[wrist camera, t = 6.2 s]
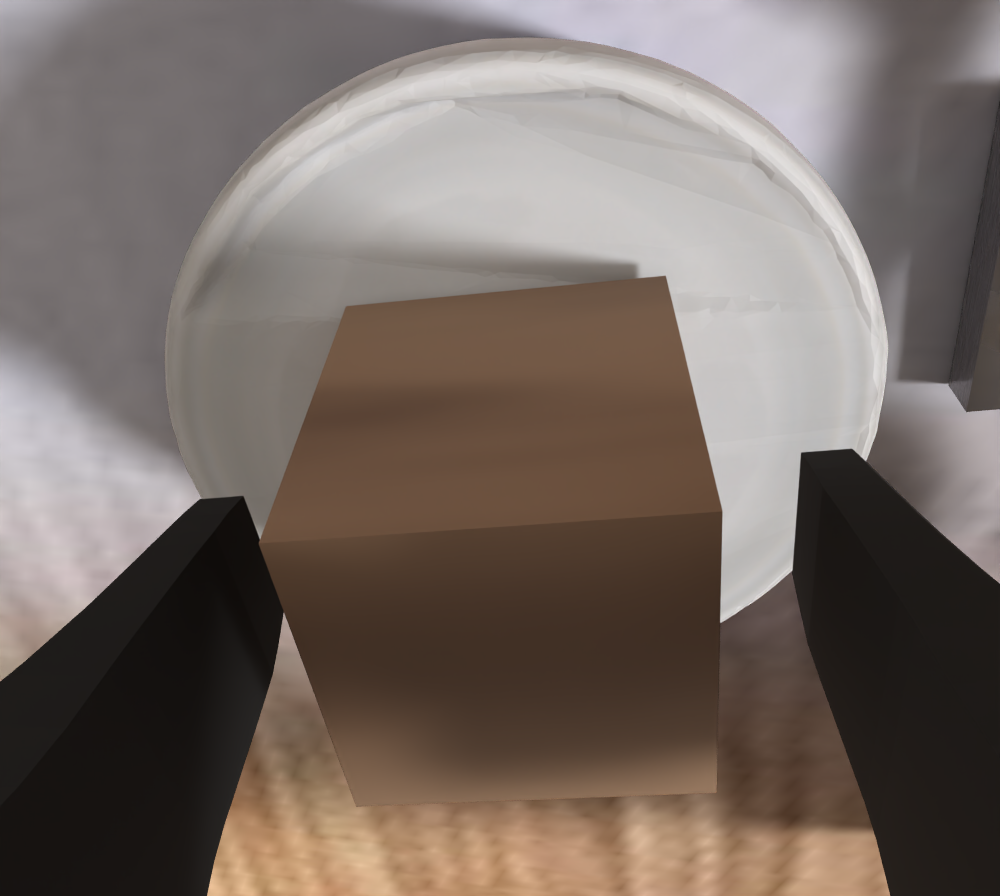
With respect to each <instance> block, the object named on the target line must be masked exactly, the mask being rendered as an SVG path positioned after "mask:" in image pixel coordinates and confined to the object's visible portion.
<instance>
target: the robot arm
mask: <svg viewBox="0 0 1000 896" xmlns="http://www.w3.org/2000/svg"><path fill="white" fill-rule="evenodd" d="M259 541H260V538H259V535H258V533H257V530H256V527H255V525H254V522H253V519H252V517H251V514H250V512H249V509H248V506H247V504H246V501H245V498H244V496H233V497H221V498H208V499H200V500H198V501H197V502H196V503H195V504H194V505H193V506H192V507H190V508H189V509H188V510H187V511H186V512H185V513H184V514H183V515H182V516H180V517H179V518H178V519H177V520H176V521H175V522H174V523H173V524H172V525H171V526H170V527H169V528H168V529H167V530H166V531H165V532H164V533H163V534H162V535H161V536H160V537H159V538H158V539H157V540H156V541H155V542H154V543H152V544H151V545H150V546H149V547H148V548H147V549H146V550H145V551H144V552H143V553H142V554H141V555H140V556H139V557H138V558H137V559H136V560H135V561H134V562H133V563H132V564H131V565H130V566H129V567H128V568H127V569H126V570H125V571H124V572H123V573H122V574H121V575H119V576H118V577H117V578H116V579H115V580H114V581H113V582H112V583H111V584H110V585H109V586H108V587H107V588H106V589H105V590H104V591H103V592H102V593H101V594H100V595H99V596H98V597H97V598H95V599H94V600H93V601H92V602H91V603H90V604H89V605H88V606H87V607H86V608H85V609H84V610H83V611H81V612H80V613H79V614H78V615H77V616H76V617H75V618H74V619H72V620H71V621H70V622H69V623H68V624H67V625H66V626H64V627H63V628H62V629H61V630H60V631H59V632H58V633H57V634H55V635H54V636H53V637H52V638H51V639H50V640H49V641H48V642H46V643H45V644H44V645H43V646H42V647H41V648H40V649H38V650H37V651H36V652H35V653H34V654H33V655H32V656H31V657H29V658H28V659H27V660H26V661H25V662H24V663H23V664H21V665H20V666H19V667H18V668H16V669H15V670H14V671H13V672H12V673H10V674H9V675H8V676H7V677H5V678H4V679H3V680H2V681H0V896H207V893H208V888H209V883H210V879H211V874H212V869H213V864H214V860H215V857H216V853H217V849H218V846H219V842H220V839H221V835H222V831H223V828H224V824H225V821H226V818H227V815H228V812H229V809H230V806H231V803H232V800H233V797H234V794H235V791H236V788H237V785H238V781H239V778H240V775H241V772H242V769H243V766H244V763H245V760H246V757H247V754H248V751H249V748H250V745H251V742H252V738H253V735H254V732H255V729H256V726H257V723H258V720H259V717H260V713H261V710H262V707H263V704H264V701H265V698H266V694H267V691H268V688H269V685H270V681H271V678H272V675H273V670H274V665H275V660H276V654H277V649H278V644H279V638H280V632H281V625H282V619H283V613H284V611H283V608H282V605H281V602H280V600H279V597H278V594H277V592H276V589H275V586H274V584H273V581H272V578H271V576H270V573H269V570H268V568H267V565H266V562H265V559H264V557H263V554H262V551H261V549H260V546H259ZM792 574H793V579H794V584H795V588H796V593H797V598H798V602H799V607H800V612H801V616H802V620H803V625H804V629H805V633H806V638H807V642H808V646H809V649H810V651H811V654H812V657H813V660H814V663H815V666H816V669H817V671H818V674H819V677H820V680H821V683H822V685H823V688H824V691H825V694H826V697H827V700H828V702H829V705H830V708H831V711H832V713H833V716H834V719H835V722H836V724H837V727H838V730H839V733H840V735H841V738H842V741H843V744H844V746H845V749H846V752H847V755H848V758H849V760H850V763H851V766H852V769H853V771H854V774H855V777H856V780H857V782H858V785H859V788H860V791H861V793H862V796H863V799H864V802H865V805H866V808H867V811H868V814H869V818H870V821H871V824H872V827H873V830H874V834H875V837H876V840H877V844H878V848H879V852H880V856H881V860H882V864H883V868H884V872H885V876H886V880H887V884H888V888H889V892H890V896H1000V584H999V583H998V582H997V581H996V580H995V579H993V578H992V577H991V576H990V575H989V574H987V573H986V572H985V571H984V570H983V569H981V568H980V567H979V566H978V565H977V564H975V563H974V562H973V561H972V560H971V559H970V558H969V557H968V556H966V555H965V554H964V553H963V552H962V551H961V550H960V549H958V548H957V547H956V546H955V545H954V544H953V543H952V542H951V541H949V540H948V539H947V538H946V537H945V536H944V535H943V534H941V533H940V532H939V531H938V530H937V529H936V528H935V527H934V526H933V525H932V524H931V523H929V522H928V521H927V520H926V519H925V518H924V517H923V516H922V515H921V514H920V513H919V512H918V511H917V510H916V509H915V508H913V507H912V506H911V505H910V504H909V503H908V502H907V501H906V500H905V499H904V498H903V497H902V496H901V495H900V494H899V493H898V492H897V491H896V490H895V489H894V488H893V487H892V486H891V485H890V484H889V483H888V482H887V481H886V480H884V479H883V478H882V477H881V476H880V475H879V474H878V473H877V472H876V471H875V470H874V469H873V468H872V467H871V466H870V465H869V464H868V463H867V462H866V461H865V460H864V459H863V458H862V457H861V456H860V455H859V454H858V453H856V452H855V451H854V450H853V449H839V450H826V451H813V452H801V459H800V473H799V487H798V501H797V514H796V528H795V542H794V556H793V569H792Z"/></svg>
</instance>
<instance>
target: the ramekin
mask: <svg viewBox="0 0 1000 896" xmlns="http://www.w3.org/2000/svg"><path fill="white" fill-rule="evenodd" d="M657 276H666V279H667V283H668V287H669V291H670V295H671V299H672V303H673V308H674V312H675V316H676V320H677V324H678V328H679V332H680V337H681V341H682V345H683V349H684V353H685V357H686V361H687V366H688V370H689V374H690V378H691V382H692V386H693V391H694V395H695V399H696V403H697V407H698V411H699V415H700V420H701V424H702V428H703V432H704V436H705V440H706V444H707V449H708V453H709V457H710V461H711V465H712V469H713V473H714V478H715V482H716V486H717V490H718V494H719V498H720V503H721V507H722V511H723V518H722V563H721V608H720V623H721V622H723V621H725V620H727V619H728V618H729V617H731V616H733V615H735V614H736V613H738V612H739V611H740V610H742V609H743V608H744V607H746V606H748V605H750V604H751V603H753V602H754V601H756V600H757V599H758V598H760V597H761V596H763V595H764V594H765V593H766V592H768V591H769V590H770V589H771V588H773V587H774V586H775V585H776V584H777V583H779V582H780V581H781V580H782V579H783V578H784V577H785V576H787V575H788V574H789V573H790V572H791V571H792V569H793V556H794V542H795V528H796V514H797V501H798V487H799V473H800V459H801V452H813V451H826V450H839V449H853V450H854V451H855V452H856V453H858V454H859V455H860V456H861V457H862V458H863V459H864V460H865V461H866V460H867V458H868V455H869V453H870V450H871V447H872V444H873V441H874V438H875V435H876V433H877V429H878V422H879V416H880V411H881V406H882V401H883V396H884V389H885V382H886V372H887V358H888V339H887V330H886V325H885V320H884V315H883V310H882V305H881V301H880V297H879V293H878V289H877V285H876V281H875V277H874V275H873V272H872V269H871V266H870V263H869V260H868V257H867V255H866V253H865V251H864V249H863V246H862V244H861V242H860V240H859V238H858V235H857V233H856V231H855V229H854V227H853V225H852V223H851V222H850V220H849V218H848V216H847V214H846V213H845V211H844V209H843V207H842V206H841V204H840V203H839V201H838V200H837V198H836V196H835V195H834V193H833V192H832V191H831V189H830V188H829V186H828V185H827V183H826V182H825V181H824V179H823V178H822V177H821V176H820V175H819V173H818V172H817V171H816V170H815V168H814V167H813V166H812V165H811V164H810V163H809V161H808V160H807V159H806V158H805V157H804V156H803V155H802V154H801V153H800V152H799V151H798V150H797V149H796V148H795V147H794V146H793V145H792V144H791V143H790V141H789V140H788V139H787V138H786V137H785V136H784V135H783V134H782V133H781V132H780V131H779V130H778V129H777V128H776V127H775V126H774V125H772V124H771V123H770V122H769V121H767V120H766V119H765V118H764V117H762V116H761V115H760V114H759V113H757V112H756V111H755V110H753V109H752V108H750V107H749V106H747V105H746V104H745V103H743V102H742V101H740V100H739V99H737V98H736V97H734V96H733V95H731V94H730V93H728V92H726V91H724V90H722V89H720V88H719V87H717V86H715V85H713V84H711V83H710V82H708V81H706V80H704V79H702V78H700V77H698V76H696V75H694V74H692V73H690V72H688V71H685V70H683V69H680V68H678V67H676V66H673V65H671V64H668V63H666V62H663V61H661V60H658V59H655V58H651V57H648V56H644V55H641V54H637V53H634V52H630V51H626V50H622V49H618V48H614V47H610V46H606V45H601V44H596V43H590V42H584V41H574V40H564V39H552V38H531V37H525V38H497V39H480V40H473V41H466V42H460V43H455V44H450V45H445V46H440V47H436V48H432V49H428V50H424V51H420V52H416V53H413V54H410V55H406V56H403V57H400V58H397V59H395V60H392V61H389V62H387V63H384V64H382V65H379V66H377V67H375V68H372V69H370V70H368V71H366V72H364V73H362V74H360V75H358V76H356V77H354V78H352V79H350V80H348V81H347V82H345V83H343V84H341V85H339V86H338V87H336V88H334V89H332V90H331V91H329V92H328V93H326V94H324V95H323V96H321V97H319V98H318V99H316V100H315V101H313V102H311V103H310V104H308V105H307V106H305V107H304V108H302V109H301V110H300V111H299V112H297V113H296V114H295V115H294V116H292V117H291V118H290V119H289V120H287V121H286V122H285V123H284V124H283V125H281V126H280V127H279V128H278V129H277V130H276V131H275V132H273V133H272V134H271V135H270V136H269V137H268V138H267V139H265V140H264V141H263V142H262V143H261V144H260V145H259V147H258V148H257V149H256V150H255V151H254V152H253V153H252V154H251V155H250V156H249V157H248V159H247V160H246V161H245V162H244V163H243V164H242V165H241V166H240V167H239V168H238V169H237V171H236V172H235V173H234V175H233V176H232V177H231V179H230V180H229V181H228V182H227V184H226V185H225V187H224V188H223V189H222V191H221V192H220V193H219V195H218V196H217V198H216V200H215V201H214V203H213V204H212V206H211V207H210V209H209V211H208V212H207V214H206V216H205V218H204V220H203V221H202V223H201V225H200V227H199V229H198V230H197V232H196V234H195V236H194V238H193V240H192V242H191V244H190V246H189V249H188V251H187V253H186V255H185V258H184V260H183V263H182V266H181V268H180V271H179V274H178V277H177V281H176V284H175V287H174V291H173V294H172V299H171V304H170V309H169V315H168V321H167V328H166V340H165V377H166V392H167V400H168V406H169V413H170V419H171V423H172V427H173V430H174V433H175V435H176V439H177V443H178V446H179V450H180V453H181V456H182V458H183V461H184V463H185V466H186V468H187V470H188V473H189V474H190V476H191V478H192V480H193V482H194V484H195V486H196V488H197V490H198V492H199V494H200V496H201V498H202V499H208V498H221V497H233V496H244V498H245V501H246V504H247V506H248V509H249V512H250V514H251V517H252V519H253V522H254V525H255V527H256V530H257V533H258V535H259V538H261V536H262V533H263V530H264V527H265V525H266V522H267V519H268V517H269V514H270V511H271V508H272V506H273V503H274V500H275V498H276V495H277V492H278V489H279V487H280V484H281V481H282V479H283V476H284V473H285V470H286V468H287V465H288V462H289V460H290V457H291V454H292V451H293V449H294V446H295V443H296V441H297V438H298V435H299V432H300V430H301V427H302V424H303V422H304V419H305V416H306V413H307V411H308V408H309V405H310V403H311V400H312V397H313V394H314V392H315V389H316V386H317V384H318V381H319V378H320V375H321V373H322V370H323V367H324V365H325V362H326V359H327V356H328V354H329V351H330V348H331V346H332V343H333V340H334V337H335V335H336V332H337V329H338V327H339V324H340V321H341V318H342V316H343V313H344V310H345V308H346V306H354V305H364V304H374V303H385V302H395V301H406V300H416V299H427V298H437V297H448V296H458V295H468V294H479V293H489V292H500V291H510V290H521V289H531V288H542V287H552V286H563V285H573V284H583V283H594V282H604V281H615V280H625V279H636V278H646V277H657Z"/></svg>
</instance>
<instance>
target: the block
mask: <svg viewBox="0 0 1000 896" xmlns="http://www.w3.org/2000/svg"><path fill="white" fill-rule="evenodd" d="M722 518H723V511H722V507H721V503H720V498H719V494H718V490H717V486H716V482H715V478H714V473H713V469H712V465H711V461H710V457H709V453H708V449H707V444H706V440H705V436H704V432H703V428H702V424H701V420H700V415H699V411H698V407H697V403H696V399H695V395H694V391H693V386H692V382H691V378H690V374H689V370H688V366H687V361H686V357H685V353H684V349H683V345H682V341H681V337H680V332H679V328H678V324H677V320H676V316H675V312H674V308H673V303H672V299H671V295H670V291H669V287H668V283H667V279H666V276H657V277H646V278H636V279H625V280H615V281H604V282H594V283H583V284H573V285H563V286H552V287H542V288H531V289H521V290H510V291H500V292H489V293H479V294H468V295H458V296H448V297H437V298H427V299H416V300H406V301H395V302H385V303H374V304H364V305H354V306H346V308H345V310H344V313H343V316H342V318H341V321H340V324H339V327H338V329H337V332H336V335H335V337H334V340H333V343H332V346H331V348H330V351H329V354H328V356H327V359H326V362H325V365H324V367H323V370H322V373H321V375H320V378H319V381H318V384H317V386H316V389H315V392H314V394H313V397H312V400H311V403H310V405H309V408H308V411H307V413H306V416H305V419H304V422H303V424H302V427H301V430H300V432H299V435H298V438H297V441H296V443H295V446H294V449H293V451H292V454H291V457H290V460H289V462H288V465H287V468H286V470H285V473H284V476H283V479H282V481H281V484H280V487H279V489H278V492H277V495H276V498H275V500H274V503H273V506H272V508H271V511H270V514H269V517H268V519H267V522H266V525H265V527H264V530H263V533H262V536H261V538H260V541H259V546H260V549H261V551H262V554H263V557H264V559H265V562H266V565H267V568H268V570H269V573H270V576H271V578H272V581H273V584H274V586H275V589H276V592H277V594H278V597H279V600H280V602H281V605H282V608H283V611H284V613H285V616H286V619H287V621H288V624H289V627H290V629H291V632H292V635H293V637H294V640H295V643H296V646H297V648H298V651H299V654H300V656H301V659H302V662H303V664H304V667H305V670H306V672H307V675H308V678H309V680H310V683H311V686H312V689H313V691H314V694H315V697H316V699H317V702H318V705H319V707H320V710H321V713H322V715H323V718H324V721H325V723H326V726H327V729H328V732H329V734H330V737H331V740H332V742H333V745H334V748H335V750H336V753H337V756H338V758H339V761H340V764H341V766H342V769H343V772H344V775H345V777H346V780H347V783H348V785H349V788H350V791H351V793H352V796H353V799H354V801H355V804H356V807H358V806H384V805H411V804H437V803H464V802H490V801H516V800H543V799H569V798H595V797H622V796H648V795H674V794H701V793H716V788H717V743H718V698H719V653H720V608H721V563H722Z"/></svg>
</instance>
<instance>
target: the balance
mask: <svg viewBox="0 0 1000 896" xmlns="http://www.w3.org/2000/svg"><path fill="white" fill-rule="evenodd" d="M949 386H950V388H951V389H952V391H953V392H954V394H955V395H956V397H957V399H958V400H959V402H960V403H961V405H962V406H963V408H964V409H965V411H966V412H970V411H982V410H994V409H1000V104H999V110H998V115H997V121H996V127H995V132H994V138H993V143H992V149H991V154H990V160H989V165H988V171H987V176H986V182H985V187H984V193H983V198H982V204H981V209H980V215H979V220H978V226H977V232H976V237H975V243H974V248H973V254H972V259H971V265H970V270H969V276H968V281H967V287H966V292H965V298H964V303H963V309H962V314H961V320H960V325H959V331H958V337H957V342H956V348H955V353H954V359H953V364H952V370H951V375H950V381H949Z"/></svg>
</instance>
